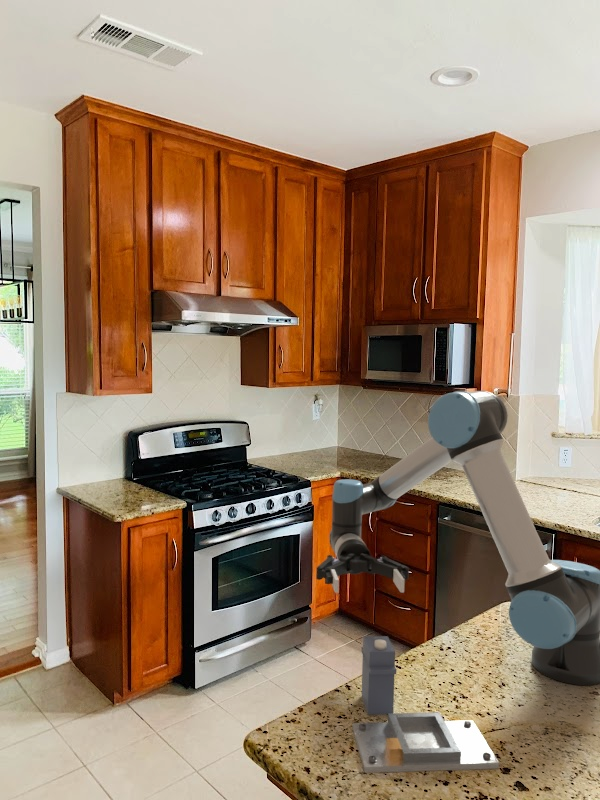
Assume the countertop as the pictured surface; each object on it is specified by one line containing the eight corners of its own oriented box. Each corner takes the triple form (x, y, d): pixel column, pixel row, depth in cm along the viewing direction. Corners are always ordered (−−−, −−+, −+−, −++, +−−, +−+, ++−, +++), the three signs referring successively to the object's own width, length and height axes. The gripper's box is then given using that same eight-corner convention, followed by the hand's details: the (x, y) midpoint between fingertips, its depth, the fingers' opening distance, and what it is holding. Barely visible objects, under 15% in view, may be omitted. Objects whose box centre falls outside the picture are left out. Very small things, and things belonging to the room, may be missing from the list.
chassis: (472, 725, 113) (473, 710, 112) (498, 768, 101) (499, 751, 100) (352, 728, 111) (352, 713, 111) (364, 772, 99) (365, 755, 99)
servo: (384, 692, 123) (386, 628, 123) (394, 718, 114) (397, 649, 114) (360, 692, 123) (362, 628, 122) (369, 719, 114) (371, 650, 113)
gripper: (403, 569, 150) (428, 603, 128) (300, 569, 147) (308, 604, 126) (404, 538, 149) (430, 568, 128) (300, 538, 147) (309, 568, 126)
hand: (369, 586), depth 127 cm, fingers open, 13 cm apart
